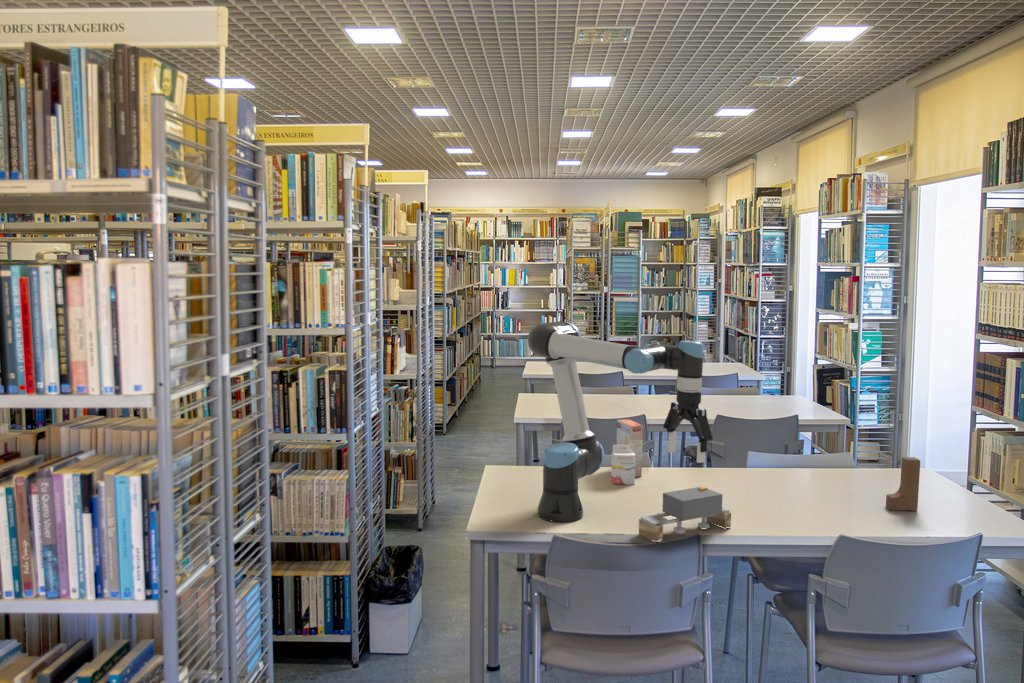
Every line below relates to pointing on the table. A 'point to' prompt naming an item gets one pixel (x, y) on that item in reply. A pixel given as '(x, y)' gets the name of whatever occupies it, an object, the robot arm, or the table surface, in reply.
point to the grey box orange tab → (692, 505)
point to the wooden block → (906, 487)
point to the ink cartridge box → (623, 465)
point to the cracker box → (631, 440)
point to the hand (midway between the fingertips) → (685, 457)
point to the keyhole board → (653, 523)
